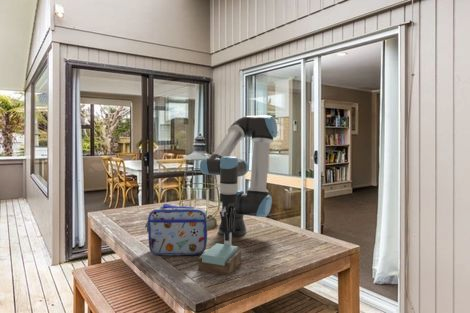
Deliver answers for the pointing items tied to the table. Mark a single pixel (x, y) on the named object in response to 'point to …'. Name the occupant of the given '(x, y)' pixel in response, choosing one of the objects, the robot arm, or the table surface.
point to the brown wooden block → (221, 269)
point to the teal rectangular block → (219, 254)
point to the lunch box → (177, 230)
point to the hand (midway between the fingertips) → (227, 247)
